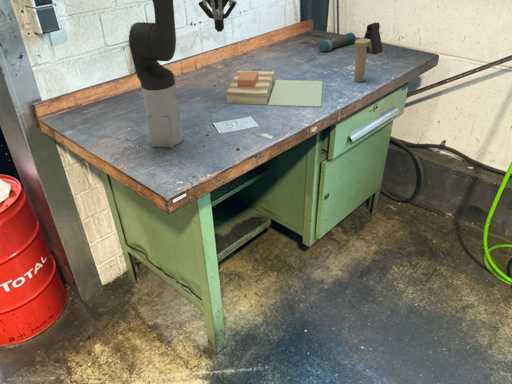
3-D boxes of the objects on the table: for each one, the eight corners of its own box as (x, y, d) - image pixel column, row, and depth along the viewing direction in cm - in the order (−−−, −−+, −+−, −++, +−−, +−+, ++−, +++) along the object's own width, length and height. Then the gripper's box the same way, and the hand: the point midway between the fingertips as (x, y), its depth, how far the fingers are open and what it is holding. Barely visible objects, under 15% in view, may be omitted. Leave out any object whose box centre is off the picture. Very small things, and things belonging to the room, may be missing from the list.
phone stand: (358, 51, 195) (361, 23, 188) (365, 47, 198) (368, 20, 191) (375, 54, 189) (379, 26, 183) (382, 51, 193) (386, 23, 186)
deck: (266, 104, 147) (266, 93, 145) (226, 103, 149) (226, 92, 147) (274, 81, 165) (274, 71, 163) (238, 81, 167) (237, 70, 165)
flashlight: (355, 44, 205) (356, 33, 202) (325, 54, 193) (325, 42, 190) (346, 42, 208) (347, 31, 205) (316, 52, 196) (317, 40, 193)
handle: (348, 82, 162) (352, 41, 154) (357, 77, 166) (361, 37, 158) (359, 84, 160) (364, 43, 151) (368, 80, 164) (373, 39, 155)
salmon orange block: (254, 87, 150) (254, 80, 149) (237, 86, 151) (237, 80, 150) (258, 78, 157) (258, 71, 156) (242, 77, 158) (241, 71, 157)
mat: (321, 107, 144) (321, 106, 144) (267, 105, 146) (267, 104, 146) (322, 82, 163) (322, 81, 163) (275, 80, 166) (275, 79, 166)
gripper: (192, -24, 133) (198, 34, 143) (233, -24, 132) (236, 34, 141) (198, -27, 140) (203, 28, 149) (238, -28, 138) (240, 28, 148)
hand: (219, 31), depth 145 cm, fingers closed
